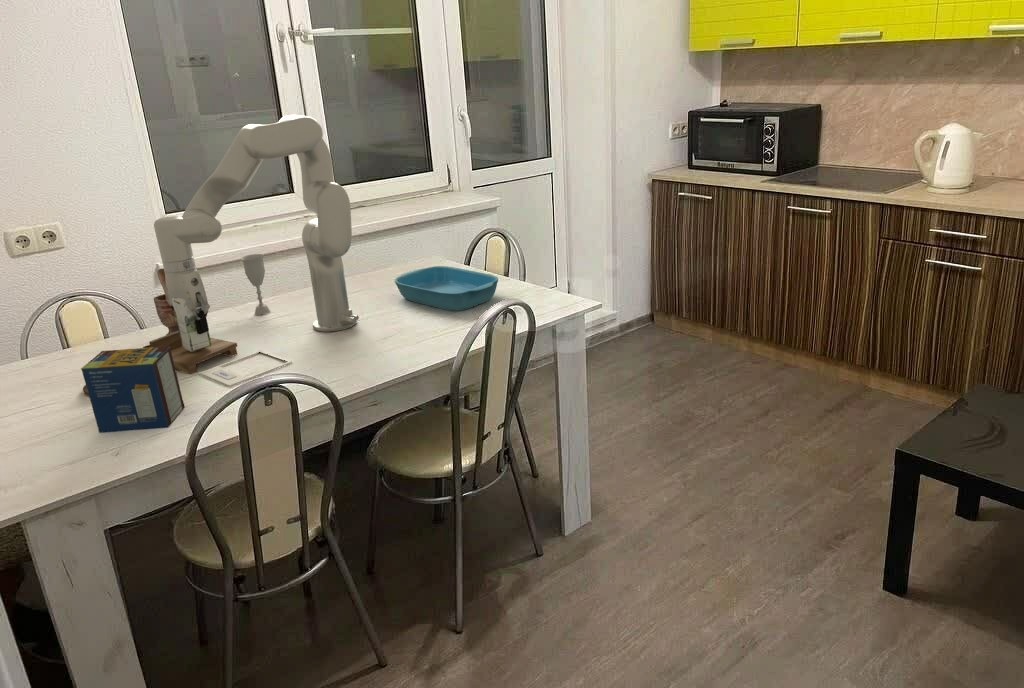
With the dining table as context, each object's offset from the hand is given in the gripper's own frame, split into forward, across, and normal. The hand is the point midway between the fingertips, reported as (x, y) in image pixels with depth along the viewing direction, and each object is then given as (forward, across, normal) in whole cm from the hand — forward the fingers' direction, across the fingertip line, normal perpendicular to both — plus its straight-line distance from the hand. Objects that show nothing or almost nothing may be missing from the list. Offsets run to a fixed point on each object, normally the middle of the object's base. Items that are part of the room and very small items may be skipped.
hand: (194, 330), depth 202 cm
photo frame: (+9, -17, -1) cm, 19 cm away
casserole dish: (+9, -32, -70) cm, 77 cm away
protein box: (+9, -19, +30) cm, 37 cm away
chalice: (+9, +16, -36) cm, 40 cm away
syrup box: (+5, 0, 0) cm, 5 cm away
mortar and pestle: (+9, +22, -9) cm, 25 cm away
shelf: (+8, +1, 0) cm, 9 cm away
